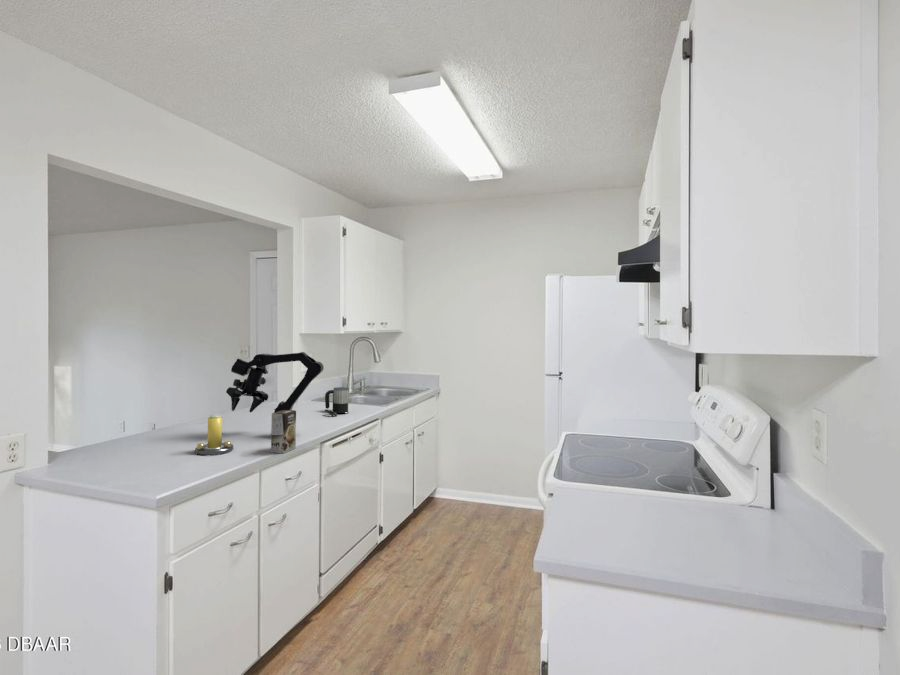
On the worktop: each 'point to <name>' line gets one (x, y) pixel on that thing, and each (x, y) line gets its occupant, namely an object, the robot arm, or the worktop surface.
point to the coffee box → (283, 431)
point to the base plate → (205, 450)
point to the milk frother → (337, 400)
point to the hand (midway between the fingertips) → (241, 411)
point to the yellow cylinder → (214, 431)
